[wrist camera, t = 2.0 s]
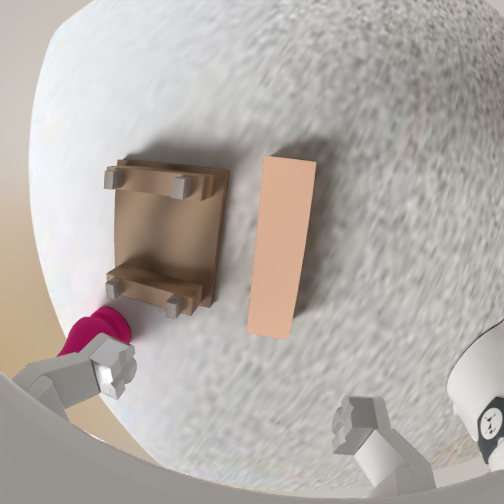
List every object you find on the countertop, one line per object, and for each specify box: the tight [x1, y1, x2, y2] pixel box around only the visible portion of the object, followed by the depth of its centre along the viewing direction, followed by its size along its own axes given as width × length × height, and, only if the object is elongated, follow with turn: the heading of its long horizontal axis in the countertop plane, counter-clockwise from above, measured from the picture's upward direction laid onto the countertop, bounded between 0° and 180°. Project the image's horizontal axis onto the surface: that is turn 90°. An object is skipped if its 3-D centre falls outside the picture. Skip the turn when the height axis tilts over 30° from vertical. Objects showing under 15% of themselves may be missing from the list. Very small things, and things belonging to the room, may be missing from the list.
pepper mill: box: [56, 307, 131, 357], centre depth 25 cm, size 7×7×20 cm
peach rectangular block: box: [247, 156, 316, 340], centre depth 25 cm, size 4×16×4 cm, turn 174°
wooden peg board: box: [104, 160, 229, 319], centre depth 26 cm, size 12×14×6 cm
